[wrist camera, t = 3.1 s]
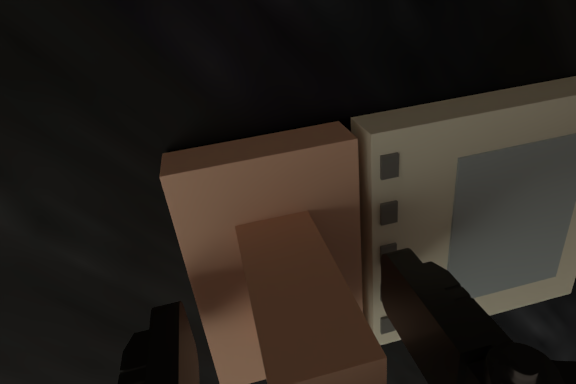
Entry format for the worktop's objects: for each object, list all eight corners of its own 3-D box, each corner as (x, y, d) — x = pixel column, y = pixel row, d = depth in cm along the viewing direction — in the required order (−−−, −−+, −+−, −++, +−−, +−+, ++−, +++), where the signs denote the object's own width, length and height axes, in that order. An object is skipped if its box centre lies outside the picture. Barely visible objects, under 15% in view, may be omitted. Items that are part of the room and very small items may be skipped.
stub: (338, 120, 12) (480, 250, 6) (348, 321, 16) (442, 513, 10) (162, 153, 11) (141, 334, 5) (218, 355, 15) (240, 583, 9)
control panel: (587, 73, 13) (635, 85, 12) (540, 269, 17) (572, 295, 16) (350, 117, 12) (372, 135, 11) (357, 316, 16) (374, 349, 14)
